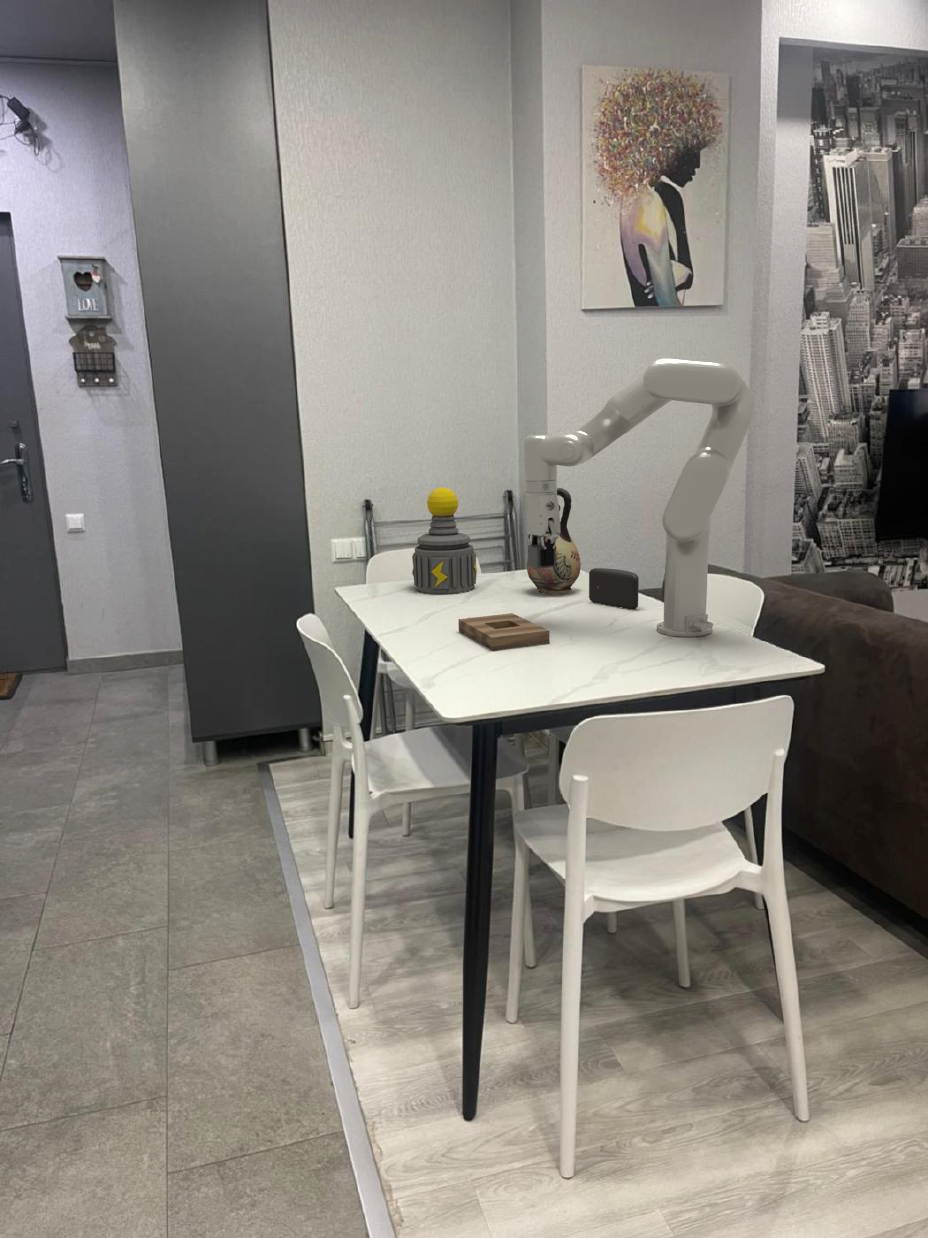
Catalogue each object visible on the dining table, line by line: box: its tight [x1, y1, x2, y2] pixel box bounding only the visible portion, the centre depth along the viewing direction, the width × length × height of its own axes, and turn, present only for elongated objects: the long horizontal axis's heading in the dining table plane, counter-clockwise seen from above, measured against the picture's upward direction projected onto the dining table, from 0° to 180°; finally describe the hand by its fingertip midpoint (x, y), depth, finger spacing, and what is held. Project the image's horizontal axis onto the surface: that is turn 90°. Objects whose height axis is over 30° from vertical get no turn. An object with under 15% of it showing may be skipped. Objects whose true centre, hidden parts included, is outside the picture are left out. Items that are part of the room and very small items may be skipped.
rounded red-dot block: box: [588, 567, 640, 610], centre depth 236 cm, size 16×5×9 cm, turn 41°
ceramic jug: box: [526, 487, 584, 596], centre depth 252 cm, size 17×15×30 cm
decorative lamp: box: [411, 486, 478, 595], centre depth 262 cm, size 19×19×30 cm
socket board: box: [458, 612, 551, 652], centre depth 206 cm, size 20×14×3 cm
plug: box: [527, 537, 556, 569], centre depth 214 cm, size 5×5×7 cm
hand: (542, 563), depth 215 cm, fingers closed on plug, 5 cm apart
